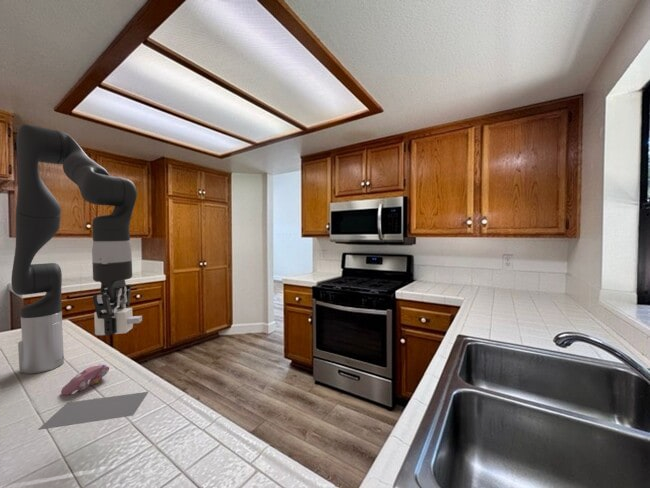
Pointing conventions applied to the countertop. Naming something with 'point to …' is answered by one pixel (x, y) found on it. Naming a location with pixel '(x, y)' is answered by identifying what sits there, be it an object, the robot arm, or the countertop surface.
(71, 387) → the video game controller
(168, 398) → the countertop surface
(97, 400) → the rubber mat
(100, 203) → the robot arm
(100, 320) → the plug block
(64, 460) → the countertop surface
